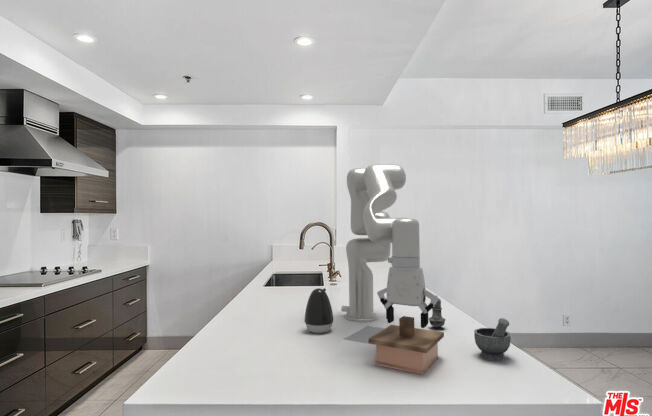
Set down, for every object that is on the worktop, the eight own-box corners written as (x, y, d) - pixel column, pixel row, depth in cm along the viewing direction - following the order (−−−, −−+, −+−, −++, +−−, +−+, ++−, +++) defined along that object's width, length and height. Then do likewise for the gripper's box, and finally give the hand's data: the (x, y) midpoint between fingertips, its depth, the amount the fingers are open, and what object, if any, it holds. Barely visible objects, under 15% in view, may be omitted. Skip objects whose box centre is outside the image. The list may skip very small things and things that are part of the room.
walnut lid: (368, 343, 108) (368, 321, 108) (391, 328, 121) (391, 308, 122) (426, 353, 99) (426, 329, 100) (443, 336, 113) (443, 315, 113)
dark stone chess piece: (446, 332, 138) (445, 297, 138) (429, 331, 139) (428, 296, 139) (445, 327, 143) (444, 293, 144) (428, 326, 144) (427, 293, 145)
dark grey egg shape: (338, 329, 143) (337, 286, 143) (326, 337, 133) (325, 291, 133) (312, 326, 147) (312, 285, 147) (299, 334, 137) (298, 289, 138)
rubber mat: (343, 339, 130) (343, 338, 130) (367, 326, 146) (367, 325, 146) (394, 349, 121) (394, 348, 121) (415, 333, 136) (414, 332, 136)
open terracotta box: (376, 364, 108) (376, 342, 108) (394, 350, 119) (394, 330, 119) (423, 374, 101) (422, 350, 101) (437, 358, 112) (437, 337, 112)
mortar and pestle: (467, 352, 117) (466, 311, 117) (494, 349, 119) (493, 309, 119) (493, 366, 106) (492, 321, 106) (522, 362, 108) (521, 318, 108)
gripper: (372, 262, 112) (372, 323, 112) (432, 266, 103) (433, 332, 103) (382, 259, 119) (383, 317, 118) (440, 263, 109) (441, 325, 109)
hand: (406, 324), depth 111 cm, fingers open, 9 cm apart
